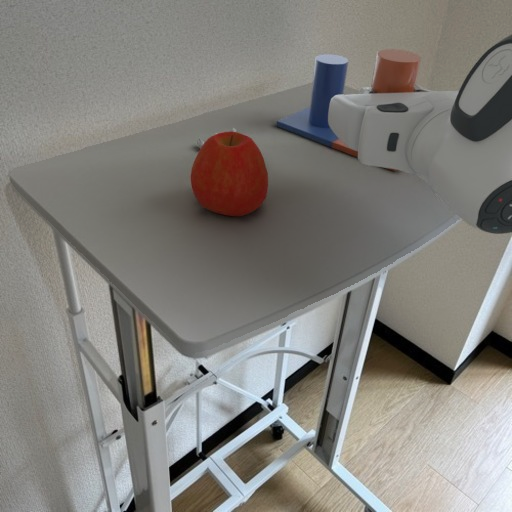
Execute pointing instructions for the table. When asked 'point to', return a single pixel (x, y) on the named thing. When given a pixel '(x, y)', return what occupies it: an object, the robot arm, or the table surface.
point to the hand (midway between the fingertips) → (388, 92)
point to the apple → (229, 175)
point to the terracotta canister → (395, 71)
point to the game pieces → (200, 142)
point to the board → (314, 131)
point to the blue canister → (326, 86)
